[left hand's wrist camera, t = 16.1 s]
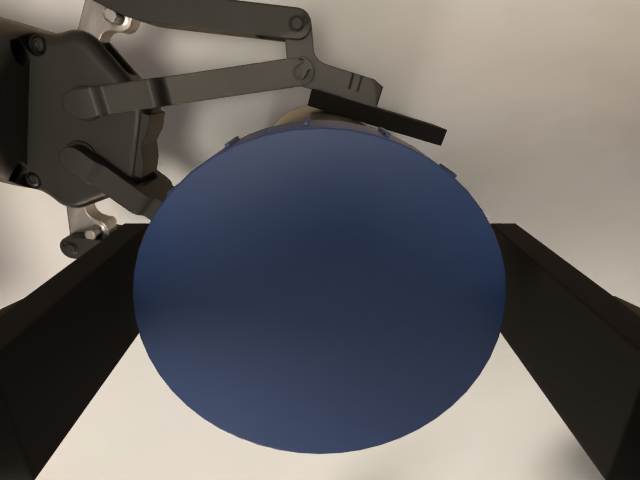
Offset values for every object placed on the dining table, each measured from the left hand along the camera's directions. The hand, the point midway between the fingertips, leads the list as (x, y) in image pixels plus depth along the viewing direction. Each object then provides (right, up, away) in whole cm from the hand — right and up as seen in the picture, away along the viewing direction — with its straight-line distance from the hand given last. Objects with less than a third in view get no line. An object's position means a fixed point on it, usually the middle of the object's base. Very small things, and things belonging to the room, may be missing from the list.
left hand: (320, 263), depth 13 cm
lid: (0, -1, -3) cm, 3 cm away
